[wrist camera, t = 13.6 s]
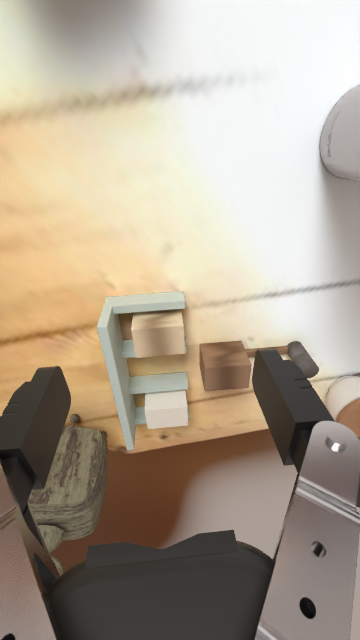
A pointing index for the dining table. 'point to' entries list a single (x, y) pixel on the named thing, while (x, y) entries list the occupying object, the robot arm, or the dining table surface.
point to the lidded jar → (345, 402)
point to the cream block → (166, 409)
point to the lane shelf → (123, 349)
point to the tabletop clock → (72, 487)
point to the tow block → (243, 363)
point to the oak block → (158, 333)
